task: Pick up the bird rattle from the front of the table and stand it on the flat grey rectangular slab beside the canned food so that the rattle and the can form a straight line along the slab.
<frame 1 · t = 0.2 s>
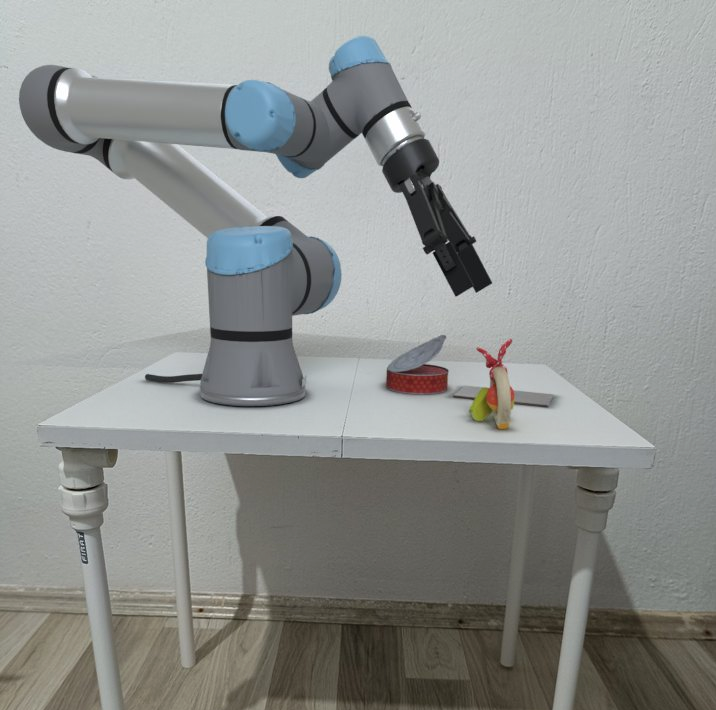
hand: (475, 289, 94), 16 cm above the table, tool tilted 35°, fingers open, 13 cm apart
canned food: (416, 388, 106), on the table
bird rattle: (496, 425, 86), on the table
flat grey rectangular slab: (504, 396, 101), on the table
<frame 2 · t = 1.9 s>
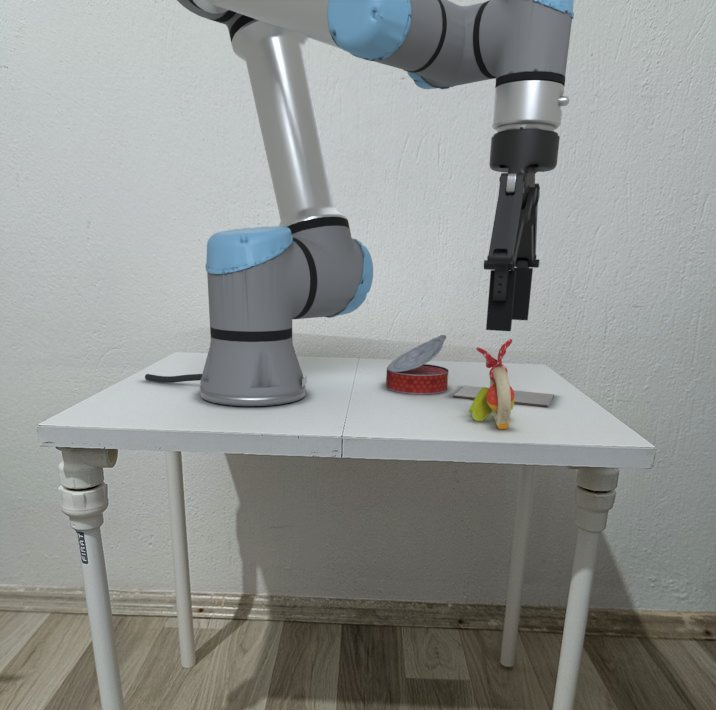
hand: (508, 325, 81), 13 cm above the table, tool pointing down, fingers open, 13 cm apart
nothing on the table moved.
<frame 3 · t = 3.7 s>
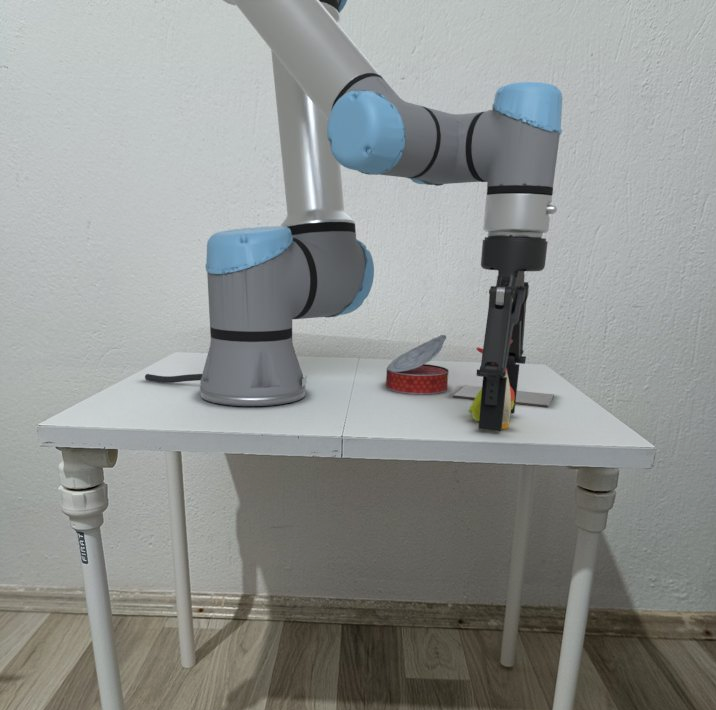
hand: (497, 420, 86), 1 cm above the table, tool pointing down, fingers closed on bird rattle, 9 cm apart
bird rattle: (496, 425, 86), on the table, touching gripper
everything else where it was.
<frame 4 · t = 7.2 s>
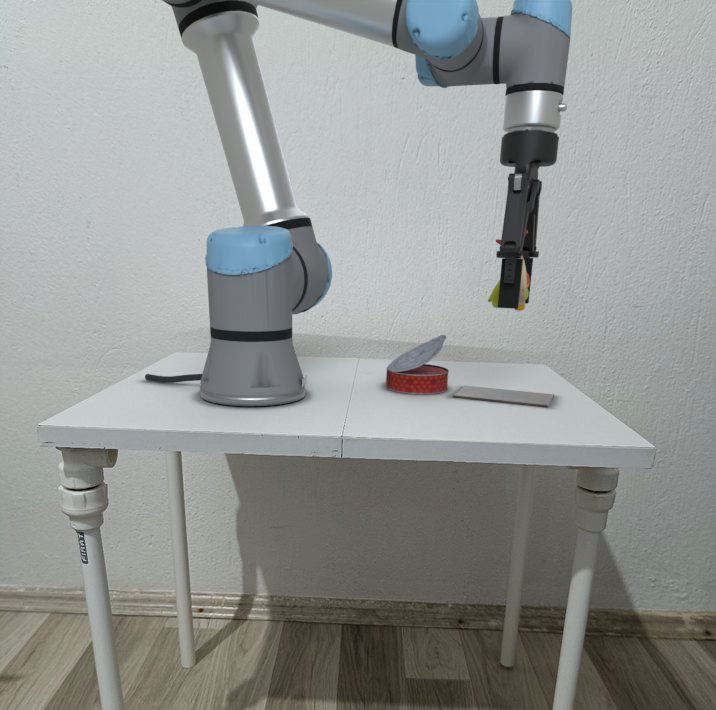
hand: (513, 305, 96), 14 cm above the table, tool pointing down, fingers closed on bird rattle, 9 cm apart
bird rattle: (513, 310, 97), point 13 cm above the table, touching gripper
everything else where it was.
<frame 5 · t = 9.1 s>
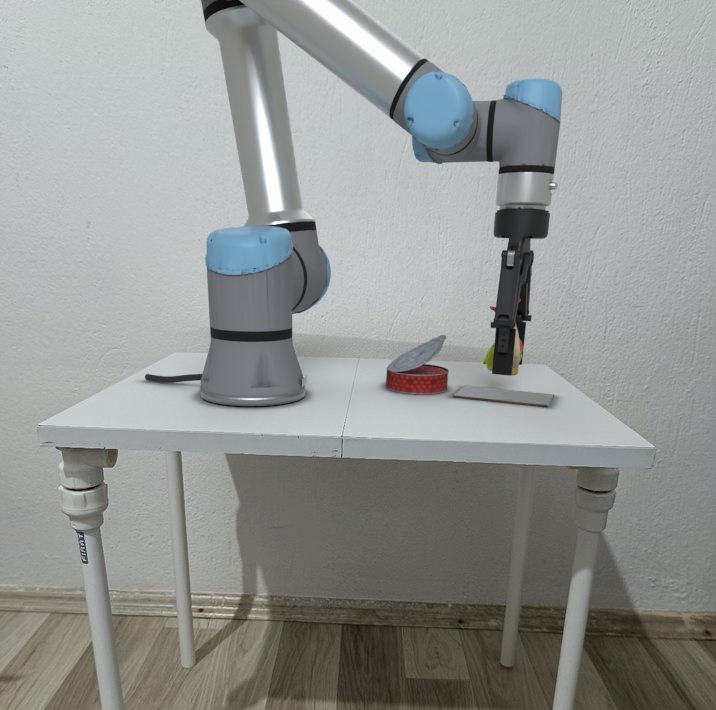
hand: (507, 368, 100), 4 cm above the table, tool pointing down, fingers closed on bird rattle, 9 cm apart
bird rattle: (507, 373, 100), point 4 cm above the table, touching gripper
everything else where it was.
when the fingers open (1 cm above the table, at t = 10.6 s): bird rattle stays where it is, resting on flat grey rectangular slab.
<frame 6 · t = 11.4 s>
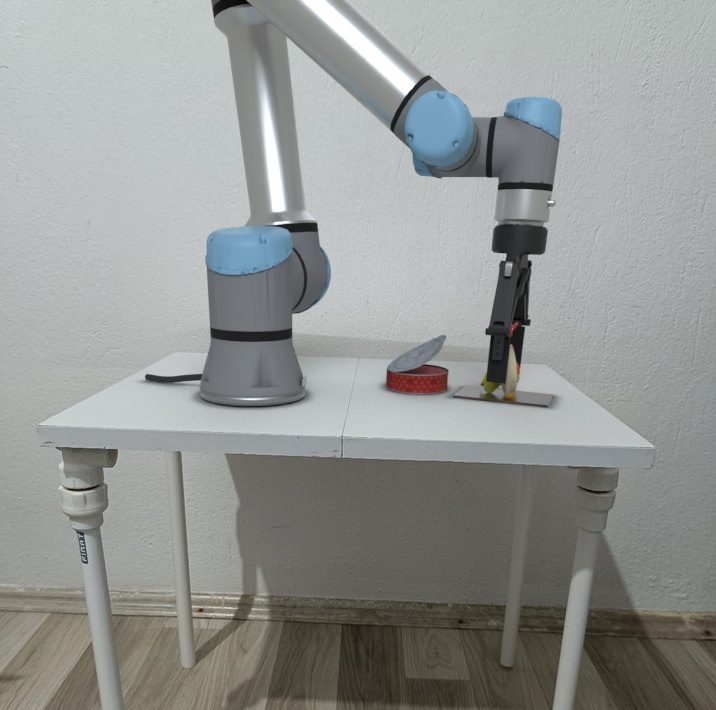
hand: (504, 374, 100), 3 cm above the table, tool pointing down, fingers open, 13 cm apart
bird rattle: (504, 396, 101), resting on flat grey rectangular slab
everything else where it was.
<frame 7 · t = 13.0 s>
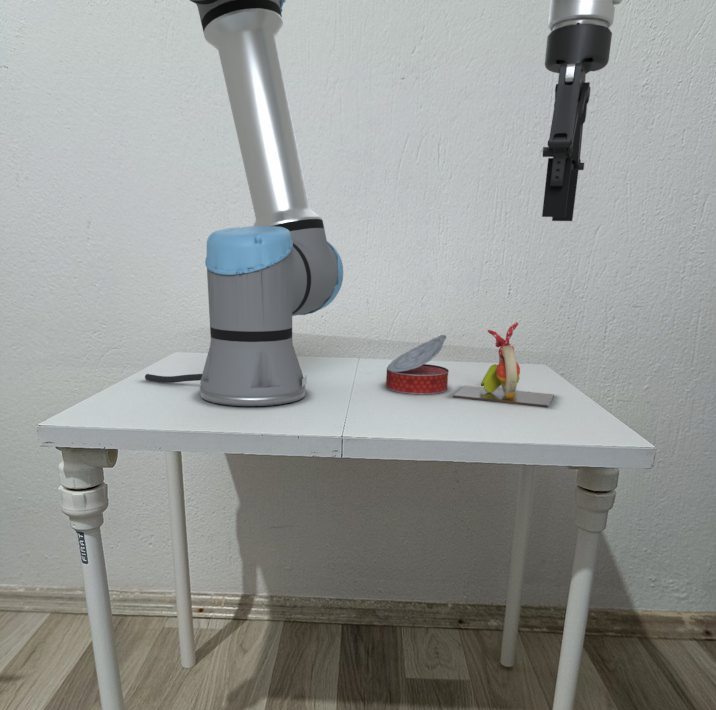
hand: (558, 219, 87), 25 cm above the table, tool pointing down, fingers open, 13 cm apart
nothing on the table moved.
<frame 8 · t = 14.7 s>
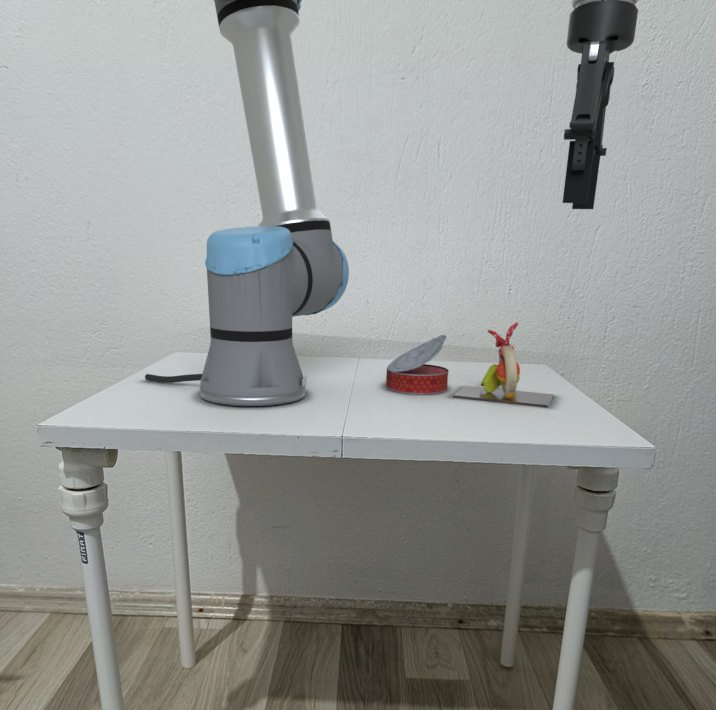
hand: (578, 206, 84), 27 cm above the table, tool pointing down, fingers open, 13 cm apart
nothing on the table moved.
at the end: bird rattle 0.1 cm from the target spot on the table beside the canned food, resting on flat grey rectangular slab; bird rattle tilted 0° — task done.
